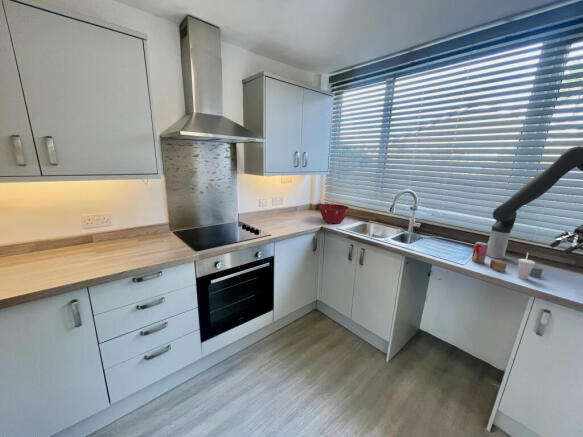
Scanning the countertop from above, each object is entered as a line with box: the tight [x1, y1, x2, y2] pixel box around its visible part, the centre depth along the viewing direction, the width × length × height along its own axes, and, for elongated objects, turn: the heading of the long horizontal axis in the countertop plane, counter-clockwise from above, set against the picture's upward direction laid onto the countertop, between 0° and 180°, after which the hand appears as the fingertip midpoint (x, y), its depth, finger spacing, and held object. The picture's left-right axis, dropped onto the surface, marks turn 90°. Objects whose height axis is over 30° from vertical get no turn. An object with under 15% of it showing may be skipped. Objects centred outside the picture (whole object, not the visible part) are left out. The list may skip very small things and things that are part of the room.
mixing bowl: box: [318, 203, 350, 224], centre depth 233 cm, size 28×28×15 cm
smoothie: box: [517, 252, 536, 280], centre depth 126 cm, size 6×6×14 cm
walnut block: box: [489, 258, 508, 273], centre depth 137 cm, size 5×5×5 cm
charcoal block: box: [528, 264, 544, 278], centre depth 131 cm, size 5×5×5 cm
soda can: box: [471, 241, 488, 264], centre depth 147 cm, size 6×6×12 cm
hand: (557, 249), depth 122 cm, fingers open, 8 cm apart
